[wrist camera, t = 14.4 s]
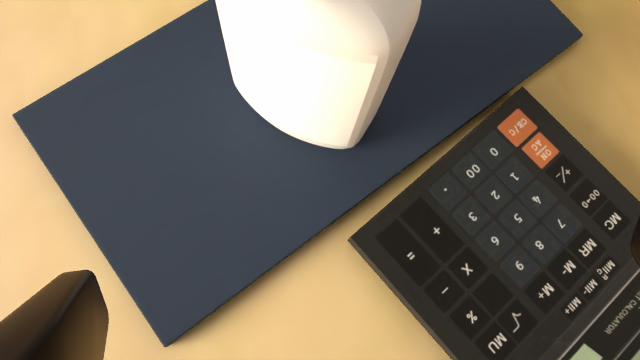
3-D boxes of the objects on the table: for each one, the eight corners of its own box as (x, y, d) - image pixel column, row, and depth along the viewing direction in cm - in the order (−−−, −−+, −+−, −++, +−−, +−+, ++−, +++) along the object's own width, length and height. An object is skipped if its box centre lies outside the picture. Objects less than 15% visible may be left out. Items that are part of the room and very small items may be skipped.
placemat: (167, 347, 17) (164, 347, 17) (16, 118, 19) (11, 114, 18) (578, 39, 21) (583, 34, 21) (425, -122, 23) (427, -129, 23)
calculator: (512, 95, 20) (550, 59, 17) (730, 311, 19) (812, 312, 16) (347, 240, 18) (359, 226, 15) (575, 499, 16) (636, 539, 14)
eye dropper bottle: (291, 184, 18) (299, -35, 7) (221, 65, 19) (126, -299, 8) (387, 131, 19) (543, -145, 8) (315, 20, 20) (356, -369, 9)
